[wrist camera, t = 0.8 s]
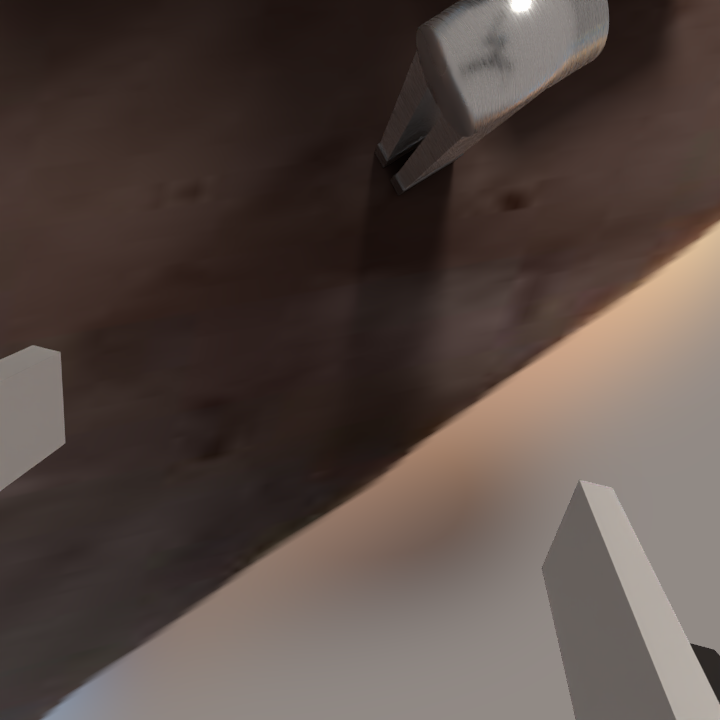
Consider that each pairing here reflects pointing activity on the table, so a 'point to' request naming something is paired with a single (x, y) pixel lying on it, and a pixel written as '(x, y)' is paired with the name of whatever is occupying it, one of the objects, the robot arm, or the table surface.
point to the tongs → (483, 74)
